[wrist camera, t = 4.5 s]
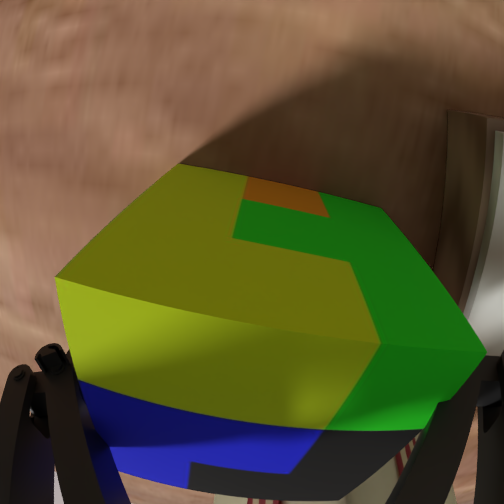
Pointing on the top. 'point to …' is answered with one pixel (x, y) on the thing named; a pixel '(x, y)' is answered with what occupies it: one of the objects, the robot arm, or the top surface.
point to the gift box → (361, 498)
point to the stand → (474, 224)
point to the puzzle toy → (259, 337)
